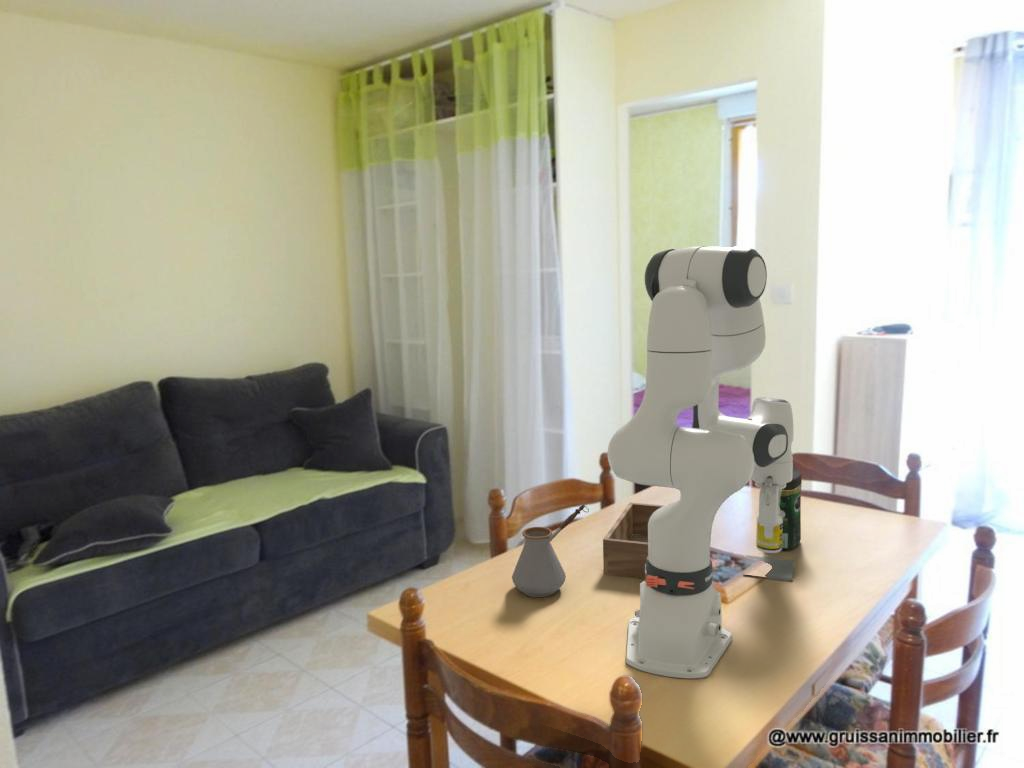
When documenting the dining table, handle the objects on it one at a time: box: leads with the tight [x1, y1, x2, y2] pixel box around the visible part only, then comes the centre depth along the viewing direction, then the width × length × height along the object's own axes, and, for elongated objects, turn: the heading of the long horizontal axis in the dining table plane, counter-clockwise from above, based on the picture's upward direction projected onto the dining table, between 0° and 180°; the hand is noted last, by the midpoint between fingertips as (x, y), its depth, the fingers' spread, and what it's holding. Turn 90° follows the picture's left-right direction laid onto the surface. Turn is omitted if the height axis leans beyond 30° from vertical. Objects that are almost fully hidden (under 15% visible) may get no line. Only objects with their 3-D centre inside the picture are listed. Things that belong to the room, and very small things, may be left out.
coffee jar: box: [779, 466, 802, 551], centre depth 174 cm, size 10×8×19 cm
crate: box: [602, 502, 665, 580], centre depth 171 cm, size 26×14×8 cm, turn 158°
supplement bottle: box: [755, 504, 783, 554], centre depth 160 cm, size 5×5×10 cm
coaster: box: [746, 555, 794, 582], centre depth 161 cm, size 10×10×1 cm
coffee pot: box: [511, 504, 590, 598], centre depth 158 cm, size 21×12×15 cm, turn 133°
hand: (769, 531), depth 160 cm, fingers closed on supplement bottle, 5 cm apart
